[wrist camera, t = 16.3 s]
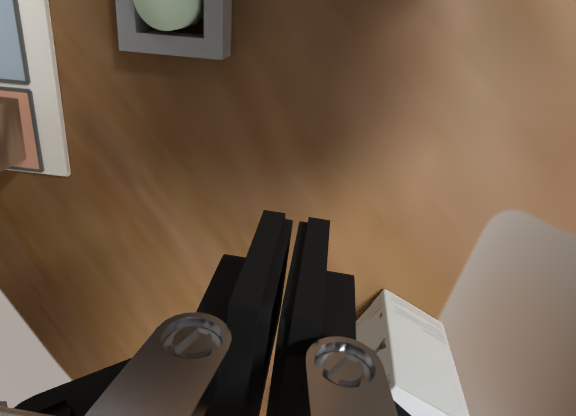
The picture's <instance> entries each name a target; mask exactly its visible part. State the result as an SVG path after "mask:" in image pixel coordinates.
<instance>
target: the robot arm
mask: <svg viewBox="0 0 576 416" xmlns="http://www.w3.org/2000/svg"><path fill="white" fill-rule="evenodd" d="M292 224H293V220H288V219H285V213H280V212H273V211H267V210H264V211H263V214H262V217H261V219H260V222H259V225H258V227H257V230H256V233H255V235H254V238H253V240H252V243H251V246H250V248H249V251H248V254H247V256H246V258H245V257H239V256H233V255H227V254H224V255H223V257H222V258H221V261H220V263H219V265H218V267H217V269H216V271H215V273H214V275H213V278H212V280H211V282H210V284H209V286H208V288H207V290H206V292H205V295H204V297H203V299H202V301H201V303H200V305H199V307H198V309H197V312H189V313H182V314H178V315H175V316H173V317H170V318H168V319H166V320H165V321H164V322H162V323H161V324H160V325H159V326H158V327H157V328H156V329H155V331H154V332H153V333H152V334H151V335H150V337H149V338H148V339H147V340H146V341H145V343H144V344H143V345H142V346H141V348H140V349H139V350H138V351H137V352H136V354H135V355H134V356H133V357H132V358H130V359H128V360H125V361H122V362H120V363H117V364H115V365H112V366H109V367H107V368H104V369H102V370H99V371H96V372H94V373H91V374H89V375H86V376H84V377H81V378H78V379H76V380H73V381H71V382H68V383H66V384H63V385H60V386H58V387H55V388H52V389H50V390H47V391H45V392H42V393H40V394H37V395H35V396H33V397H31V398H29V399H27V400H25V401H23V402H21V403H20V404H18V405H17V406H16V407H15V408H8V407H7V402H6V401H3V402H2V401H0V416H259V413H260V409H261V404H262V399H263V394H264V389H265V384H266V379H267V375H268V370H269V365H270V360H271V355H272V350H273V345H274V341H275V336H276V331H277V326H278V321H279V316H280V310H281V303H282V296H283V289H284V281H285V274H286V267H287V260H288V253H289V245H290V238H291V231H292ZM329 228H330V220H324V219H318V218H311V217H309V219H308V223H307V222H299V226H298V231H297V236H296V241H295V246H294V251H293V256H292V261H291V265H290V270H289V275H288V280H287V285H286V290H285V295H284V300H283V305H282V310H281V316H280V322H279V328H278V336H277V343H276V350H275V357H274V364H273V371H272V378H271V386H270V393H269V400H268V407H267V414H266V416H411V415H410V414H409V413H408V412H407V411H405V410H404V409H403V408H402V407H401V406H400V405H399V404H398V403H396V402H395V401H394V400H393V397H392V393H391V390H390V387H389V383H388V380H387V377H386V373H385V370H384V367H383V364H382V362H381V360H380V358H379V357H378V355H377V354H376V353H375V352H374V351H373V350H372V349H371V348H369V347H368V346H366V345H365V344H363V343H361V342H359V341H356V315H355V280H354V275H349V274H343V273H337V272H331V271H326V270H327V256H328V242H329Z"/></svg>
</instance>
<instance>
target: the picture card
mask: <svg viewBox="0 0 576 416" xmlns="http://www.w3.org/2000/svg"><path fill="white" fill-rule="evenodd" d="M0 96H1V97H9V98H16V99H18V102H19V109H20V117H21V124H22V131H23V138H24V145H25V152H26V159H25V160H23V161H21V162H19V163H17V164H15V165H13V166H11V167H9V168H7V169H5V170H13V171H22V172H31V173H40V174H49V175H58V176H67V177H68V176H69V175H71V170H70V163H69V155H68V147H67V140H66V132H65V124H64V117H63V109H62V101H61V93H60V86H59V78H58V70H57V63H56V55H55V47H54V40H53V32H52V24H51V17H50V9H49V1H48V0H0Z"/></svg>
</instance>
